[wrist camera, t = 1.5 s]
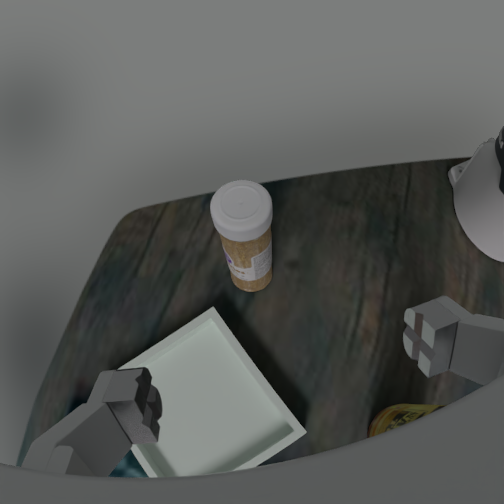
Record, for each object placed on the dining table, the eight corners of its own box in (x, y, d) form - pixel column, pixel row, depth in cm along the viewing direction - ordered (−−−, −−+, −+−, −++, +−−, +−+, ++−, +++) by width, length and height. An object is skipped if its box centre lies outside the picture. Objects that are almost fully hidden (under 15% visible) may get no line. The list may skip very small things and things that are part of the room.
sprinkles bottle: (222, 273, 36) (196, 202, 24) (253, 246, 37) (242, 167, 25) (251, 302, 34) (237, 241, 22) (282, 273, 35) (285, 201, 23)
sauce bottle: (368, 403, 28) (483, 393, 11) (423, 403, 28) (561, 383, 10) (358, 464, 26) (460, 525, 8) (414, 462, 25) (544, 496, 7)
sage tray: (217, 313, 34) (213, 306, 31) (304, 429, 28) (307, 432, 25) (105, 385, 31) (94, 383, 28) (180, 503, 25) (173, 510, 22)
